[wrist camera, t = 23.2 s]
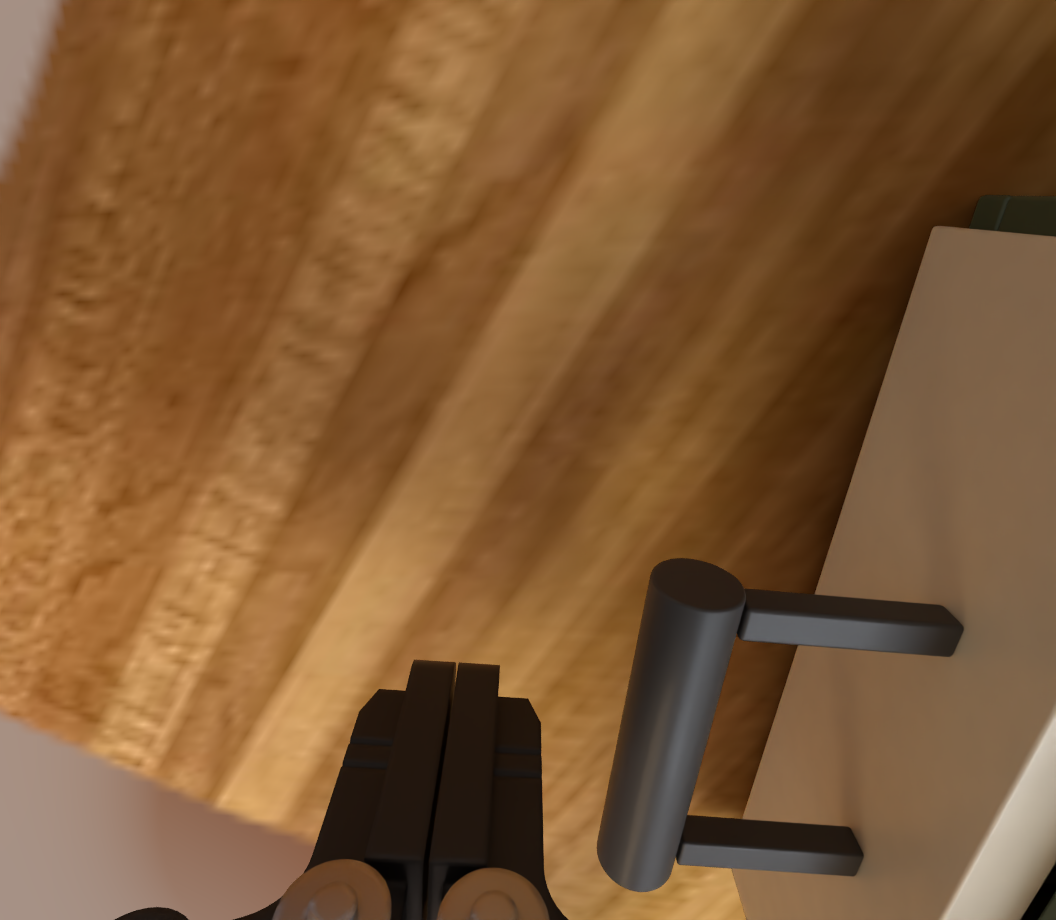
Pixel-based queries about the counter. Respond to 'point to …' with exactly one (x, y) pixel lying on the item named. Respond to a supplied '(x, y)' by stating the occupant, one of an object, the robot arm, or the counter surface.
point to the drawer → (886, 643)
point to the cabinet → (1023, 218)
